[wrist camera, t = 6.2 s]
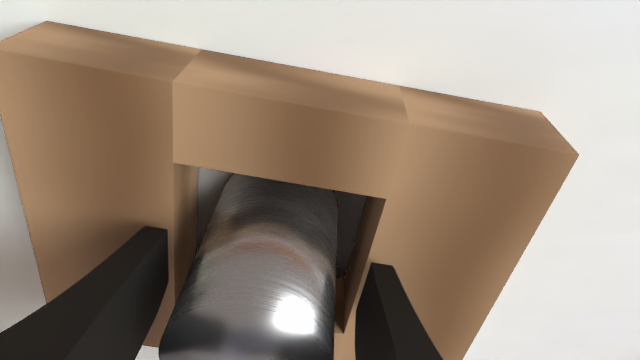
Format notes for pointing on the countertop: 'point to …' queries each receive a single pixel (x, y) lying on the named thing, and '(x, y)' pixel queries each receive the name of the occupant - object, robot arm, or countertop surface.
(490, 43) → the countertop surface
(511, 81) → the countertop surface
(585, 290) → the countertop surface
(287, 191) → the brushed metal cylinder
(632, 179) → the countertop surface
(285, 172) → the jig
